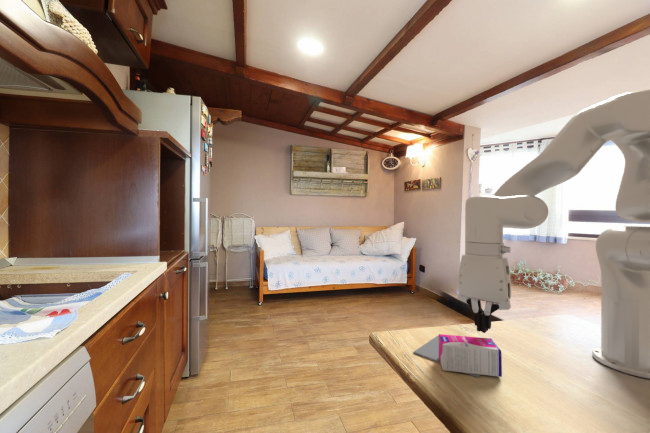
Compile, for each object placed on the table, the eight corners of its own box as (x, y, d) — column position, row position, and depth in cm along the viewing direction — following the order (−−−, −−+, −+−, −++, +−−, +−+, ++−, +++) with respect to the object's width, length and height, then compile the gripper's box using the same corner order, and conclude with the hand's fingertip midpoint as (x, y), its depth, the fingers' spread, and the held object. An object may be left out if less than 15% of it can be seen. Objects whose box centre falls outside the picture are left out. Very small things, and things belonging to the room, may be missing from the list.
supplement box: (501, 349, 57) (442, 345, 60) (502, 377, 57) (443, 372, 60) (491, 336, 63) (437, 333, 65) (492, 362, 63) (438, 358, 65)
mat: (496, 355, 68) (496, 353, 68) (477, 377, 58) (477, 375, 58) (438, 336, 78) (438, 335, 78) (413, 353, 68) (413, 351, 68)
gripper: (526, 251, 61) (525, 335, 61) (455, 246, 72) (455, 317, 72) (518, 254, 56) (518, 346, 56) (443, 248, 66) (443, 325, 66)
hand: (482, 330), depth 64 cm, fingers closed
